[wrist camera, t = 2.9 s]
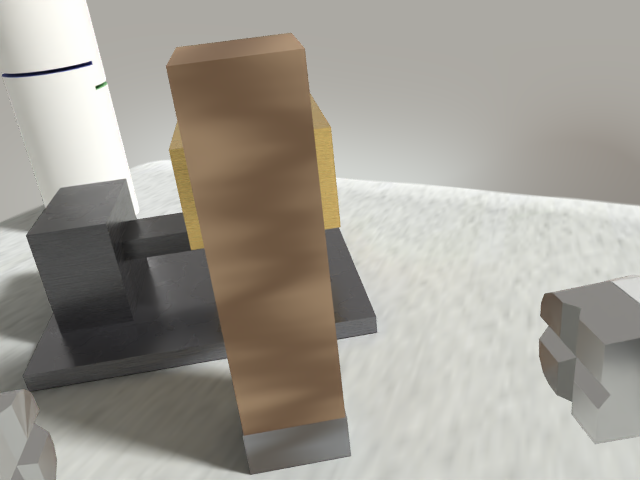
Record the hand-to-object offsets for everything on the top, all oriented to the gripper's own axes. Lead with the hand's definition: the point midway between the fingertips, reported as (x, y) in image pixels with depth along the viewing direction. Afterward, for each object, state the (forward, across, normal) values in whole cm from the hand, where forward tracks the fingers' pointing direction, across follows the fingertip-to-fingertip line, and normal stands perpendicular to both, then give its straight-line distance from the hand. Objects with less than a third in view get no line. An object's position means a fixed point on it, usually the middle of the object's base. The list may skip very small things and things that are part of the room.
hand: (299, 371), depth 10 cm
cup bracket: (+25, +4, +12) cm, 29 cm away
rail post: (+12, 0, +12) cm, 18 cm away
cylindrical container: (+41, +14, +12) cm, 45 cm away
